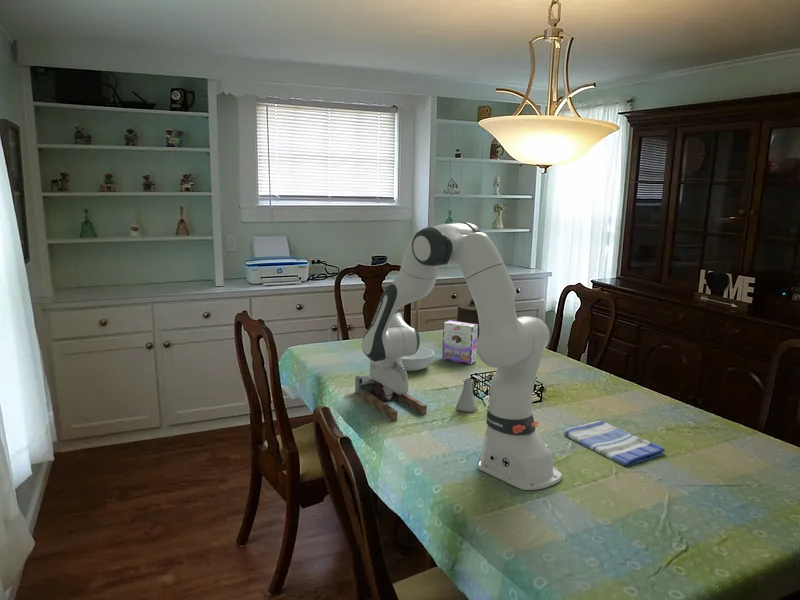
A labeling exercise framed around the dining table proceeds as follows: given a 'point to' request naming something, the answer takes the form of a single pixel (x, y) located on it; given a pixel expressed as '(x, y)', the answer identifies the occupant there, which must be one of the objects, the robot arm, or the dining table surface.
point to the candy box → (460, 342)
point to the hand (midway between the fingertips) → (388, 398)
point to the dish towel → (614, 443)
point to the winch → (361, 381)
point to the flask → (467, 398)
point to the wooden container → (468, 314)
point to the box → (381, 392)
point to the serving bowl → (418, 359)
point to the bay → (368, 396)
